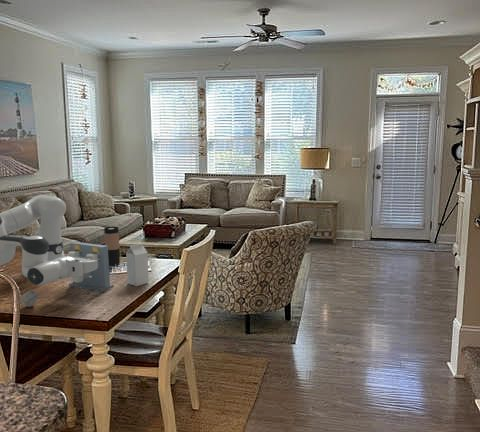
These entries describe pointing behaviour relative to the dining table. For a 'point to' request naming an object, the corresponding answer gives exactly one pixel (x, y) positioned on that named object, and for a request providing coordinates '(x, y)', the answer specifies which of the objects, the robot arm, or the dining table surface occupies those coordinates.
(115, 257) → the travel mug
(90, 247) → the panel
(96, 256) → the button top right
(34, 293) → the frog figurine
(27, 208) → the robot arm
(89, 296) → the dining table surface
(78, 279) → the button bottom
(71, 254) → the button top left
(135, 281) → the milk carton
